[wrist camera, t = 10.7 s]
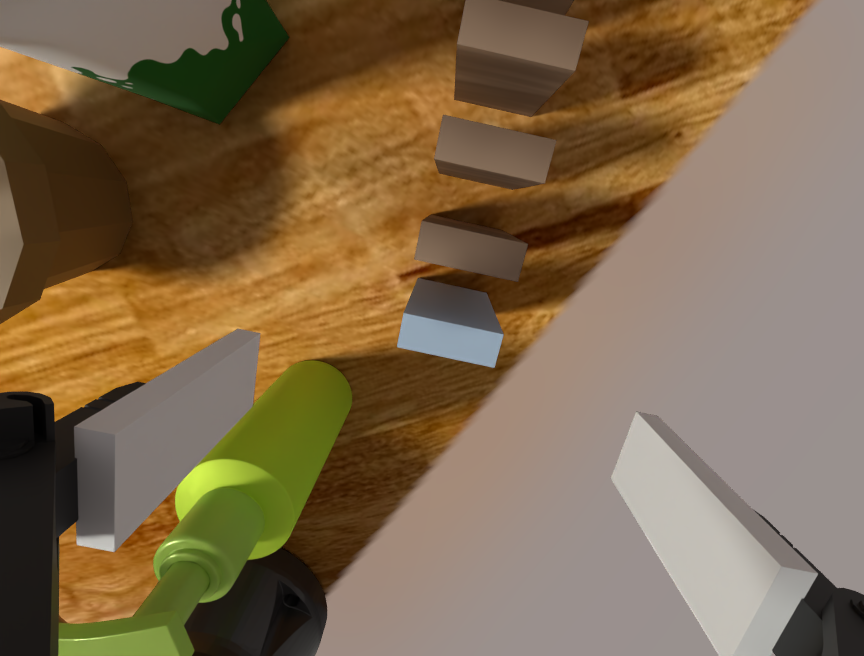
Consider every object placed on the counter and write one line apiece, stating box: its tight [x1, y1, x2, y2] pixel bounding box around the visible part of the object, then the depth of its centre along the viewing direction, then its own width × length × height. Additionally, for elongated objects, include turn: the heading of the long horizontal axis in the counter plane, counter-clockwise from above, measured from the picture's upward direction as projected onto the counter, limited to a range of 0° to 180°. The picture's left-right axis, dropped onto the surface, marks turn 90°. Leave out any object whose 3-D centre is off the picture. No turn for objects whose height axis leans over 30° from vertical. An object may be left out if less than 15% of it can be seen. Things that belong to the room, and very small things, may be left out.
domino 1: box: [454, 0, 589, 117], centre depth 22 cm, size 2×5×10 cm, turn 78°
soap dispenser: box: [58, 360, 352, 656], centre depth 24 cm, size 6×7×20 cm
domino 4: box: [397, 278, 504, 368], centre depth 26 cm, size 2×5×10 cm, turn 78°
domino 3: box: [414, 215, 528, 282], centre depth 25 cm, size 2×5×10 cm, turn 78°
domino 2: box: [434, 115, 556, 190], centre depth 23 cm, size 2×5×10 cm, turn 78°
